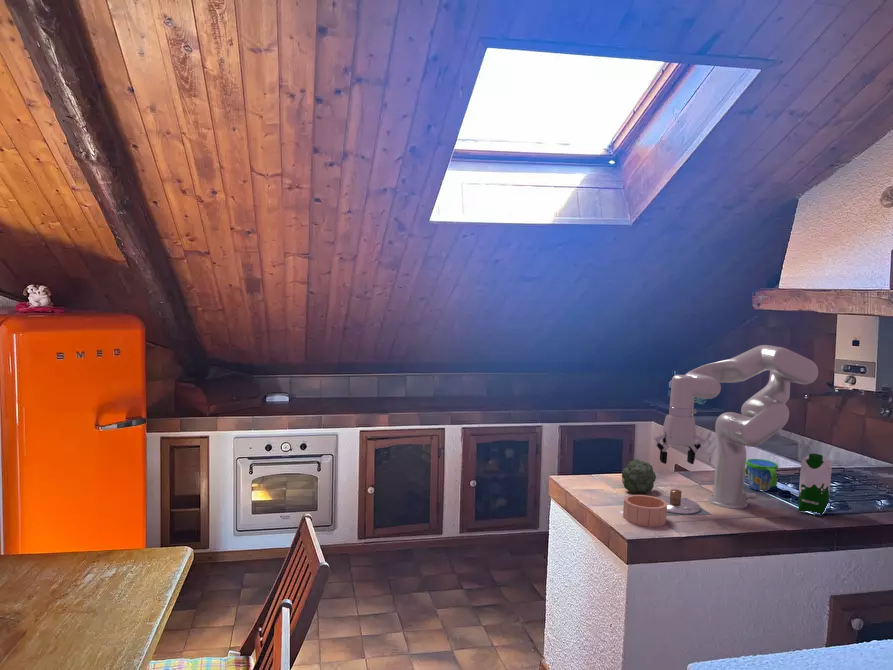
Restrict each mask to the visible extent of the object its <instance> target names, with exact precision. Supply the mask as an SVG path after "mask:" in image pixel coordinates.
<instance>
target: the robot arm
mask: <svg viewBox="0 0 893 670" xmlns="http://www.w3.org/2000/svg"><path fill="white" fill-rule="evenodd" d="M765 371H769V379H768V382H767V383H766V385H765V386H764V387H763V388H762V389H760V390H759V391H758V392H756V393H755V394H753V395H752V396H751V397H750V398H748V399H747V400H746V401H745V402H743V404H742V405H741V408H740V409H741V410H740V413H739V412H738V413H737V412H734V411H733V412H732V411H727V412H723V413H721V414H720V415H719V416H718V417H717V418H716V421H715V425H714V428H715V436H716V457H715V467H714V469H715V470H714V482H713V485H714V486H713V494H711V495H709V496H708V499H707V501H708V502H709V503H710V504H712V505H714V506H717V507H721V508H726V509H734V510H739V509H746V508H748V503H749V502H748V500H749V499H750V500H754V499H755V500H756V499H757V497H758V496H757V494H756V493H755V492H754V493H753V492H751V493H750V492H749V491H745V478H746V472H745V470H746V466H747V465H746V461H747V449H746V447H750V448H751V447H752V448H753V447H758V446H760V445H762V444H763V443H765V442H766V441H767V440H769V439H770V438H771V437H772V436H774V435H776V434H777V433H778V432H779V431H780V430H782V429H783V428H784V427H785V425H786V424H787V423H788V421H789V417H790V410H789V407H788V406H787V404H786V403H787V402H788V400H789V399H790V398H791V397H790V395H791V383H795V384H800V385H809V384H812V383H814V382H815V381H816V380H817V378H818V375H819V369H818V365H817V364H816V363H815V362H814V361H813V360H811V359H809V358H807V357H805V356H803V355H801V354H799V353H797V352H795V351H792V350H790V349H788V348H785V347H782V346H775V345H769V344H762V345H758V346H755V347H753V348H751V349H748V350H747V351H744V352H742V353H740V354H738V355H736V356H733V357H732V358H729V359H723V360H720V361H715V362H710V363H707V364H703V365H700V366H699V367H696V368H694V369H692V370H690V371H688V372H686V373H685V374H675V375H674V376H672V378H671V388H670V396H669V397H670V400H669V410H668V411H669V412H668V414H666V416H665V418H664V421H663V422H664V423H663V427H662V431H661V434H658V435H656V436H654V437H653V441H654V443H655V446H656V447H657V448H658V450H659V460H660V463H662V464H664V465H666V464H667V462H668V452H667V450H668V449H669V448H670V447H673V448H675V447H676V448H677V447H678V448H679V447H680V448H686V447H687V448H688V450H687V459H686V462H687V463H688V464H691V465H694V463H695V461H696V460H695V458H696V453H697V452H698V450H699V449H700V448H701V447H702V444H703V442H704V438H702V437H701V436H700V435H698V434H696V433H697V432H696V420H695V417H694V414H697V413H698V411H697V409H696V408H694V406H695V398H700V399H704V400H709V399H710V400H712V399H714V398H716V397H717V396H718V395H719V394H720V393H721V390H722V385H721V383H723V384H724V383H727V384H729V383H731V384H732V383H734V384H735V383H740V382H745V381H747V380H749V379H751V378H753V377H754V376H757V375H759V374H761V373H763V372H765ZM696 440H697V441H696Z"/></svg>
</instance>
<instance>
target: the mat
mask: <svg viewBox="0 0 893 670" xmlns="http://www.w3.org/2000/svg"><path fill="white" fill-rule="evenodd" d="M683 498H684V499H688V500H690V499H689V498H687V497H683ZM668 516H669V517H671V516H712V514H711V513H710V512H708V510H706V509H704V508H702V507H701V506H700V512H698V513H695V514H673V513H668V512H667V517H668Z"/></svg>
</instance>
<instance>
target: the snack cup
mask: <svg viewBox="0 0 893 670" xmlns="http://www.w3.org/2000/svg"><path fill="white" fill-rule="evenodd" d="M778 469H779V465H778V464H777V463H776V462H774V461H771V460H766V459H761V458H749V459H746V467H745V475H747V479H748V488H749V489H752V490H754V491H756V490H767V489H770V488H771V489H772V487H776V486H777V485H778V478H777V477H778V476H777V472H776V471H777V470H778Z"/></svg>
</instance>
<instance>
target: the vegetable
mask: <svg viewBox="0 0 893 670" xmlns="http://www.w3.org/2000/svg"><path fill="white" fill-rule="evenodd" d="M656 476H657V475H656V473H655V471H654V469H653V465H652V464H650V463H648V462H645V461H643V460H639V459H638V458H636V459H633V460H629V461H628V463H627V465H626V467H624V468H623V469H622V471H621V482H622V485H623V487H624V489H625V490H627V491H628V492H630V493H631V494H633V495H637V494H638V493H639V494H640V493H641V494H643V493H646V492H650V491H652V490H653V489H654V486H655V485H654V483H655V481H656V478H657V477H656Z"/></svg>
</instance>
